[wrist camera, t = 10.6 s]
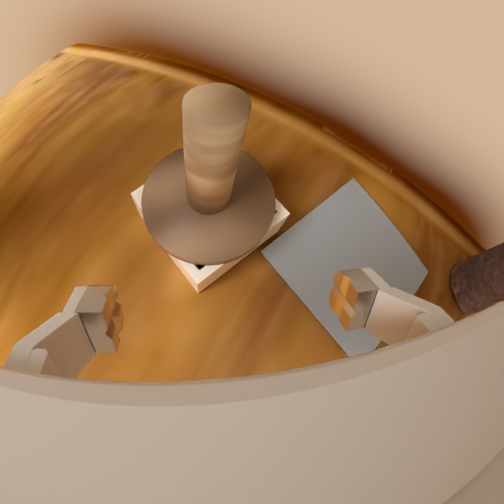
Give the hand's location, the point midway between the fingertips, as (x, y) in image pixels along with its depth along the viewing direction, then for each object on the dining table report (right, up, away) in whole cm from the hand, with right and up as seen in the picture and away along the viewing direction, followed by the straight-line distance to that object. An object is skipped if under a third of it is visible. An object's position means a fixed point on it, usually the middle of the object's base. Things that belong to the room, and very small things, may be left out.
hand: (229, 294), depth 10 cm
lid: (-3, +5, +11) cm, 12 cm away
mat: (+11, 0, +16) cm, 20 cm away
